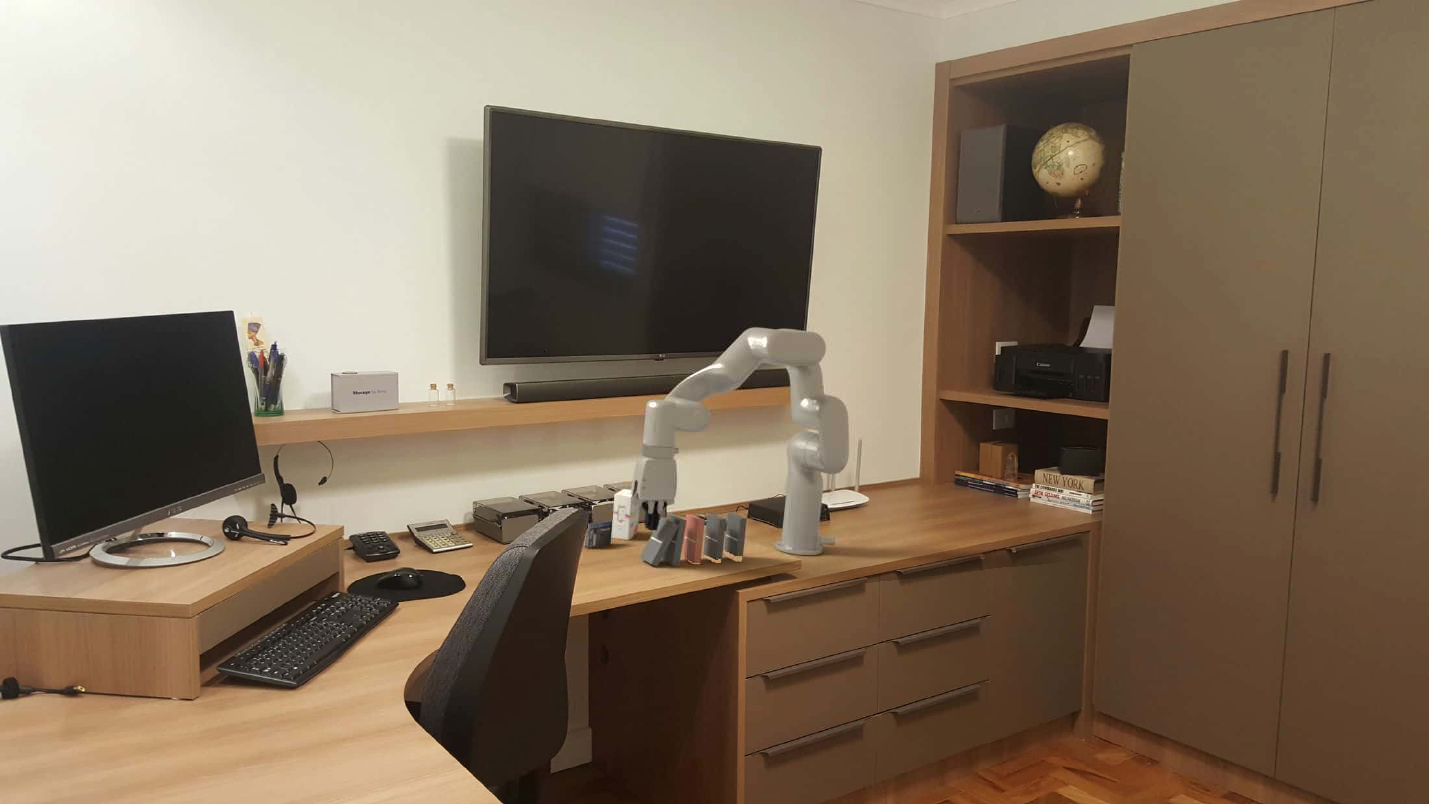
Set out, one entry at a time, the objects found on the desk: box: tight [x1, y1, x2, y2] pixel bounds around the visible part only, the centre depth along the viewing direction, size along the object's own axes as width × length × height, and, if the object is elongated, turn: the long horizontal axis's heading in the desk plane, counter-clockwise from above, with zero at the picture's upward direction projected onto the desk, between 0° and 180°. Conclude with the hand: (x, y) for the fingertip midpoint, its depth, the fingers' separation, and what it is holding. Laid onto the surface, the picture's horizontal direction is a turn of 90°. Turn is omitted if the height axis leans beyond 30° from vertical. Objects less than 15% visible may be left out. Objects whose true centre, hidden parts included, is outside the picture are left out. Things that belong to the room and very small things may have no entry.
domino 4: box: [702, 513, 727, 560], centre depth 248 cm, size 2×6×11 cm, turn 31°
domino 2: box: [660, 514, 687, 567], centre depth 242 cm, size 2×6×11 cm, turn 31°
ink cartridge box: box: [611, 488, 641, 541], centre depth 264 cm, size 9×5×15 cm, turn 168°
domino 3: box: [681, 513, 706, 563], centre depth 245 cm, size 2×6×11 cm, turn 31°
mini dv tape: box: [583, 520, 613, 550], centre depth 252 cm, size 8×2×6 cm, turn 143°
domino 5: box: [723, 512, 748, 557], centre depth 251 cm, size 2×6×11 cm, turn 31°
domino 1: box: [639, 516, 679, 568], centre depth 240 cm, size 2×6×11 cm, turn 33°
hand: (651, 528), depth 239 cm, fingers closed
